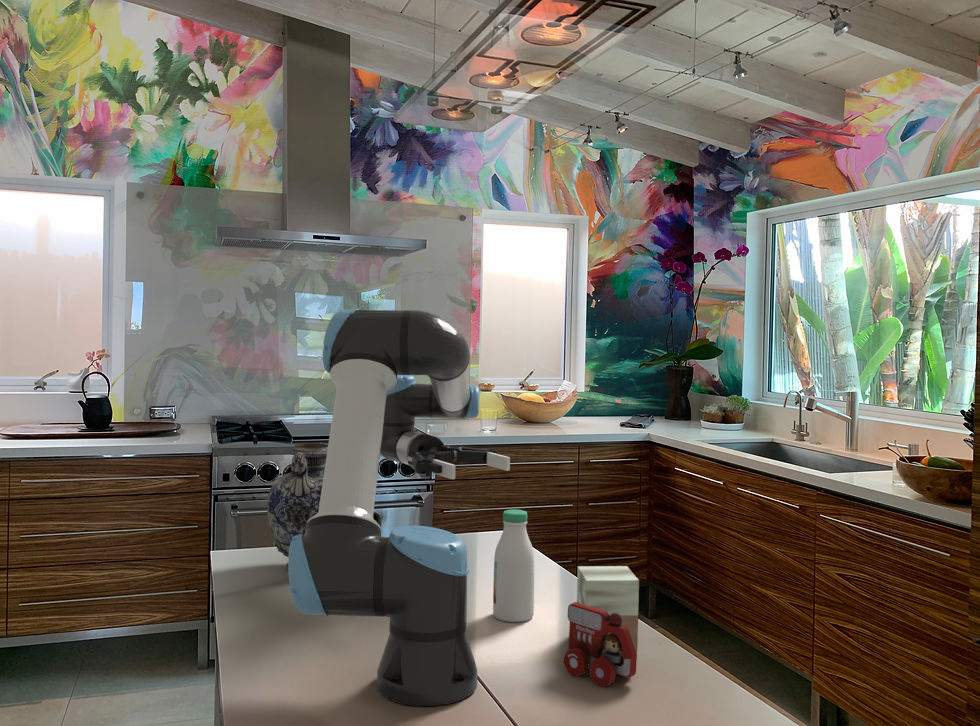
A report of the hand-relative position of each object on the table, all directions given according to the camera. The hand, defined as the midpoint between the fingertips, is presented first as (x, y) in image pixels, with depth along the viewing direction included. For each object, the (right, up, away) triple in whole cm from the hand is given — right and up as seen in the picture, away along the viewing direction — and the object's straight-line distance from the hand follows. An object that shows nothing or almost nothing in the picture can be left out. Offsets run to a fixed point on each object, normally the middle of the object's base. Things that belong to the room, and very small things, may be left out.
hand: (482, 468), depth 160 cm
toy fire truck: (+19, -29, -32) cm, 47 cm away
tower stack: (+22, -28, -18) cm, 40 cm away
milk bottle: (+6, -28, -6) cm, 29 cm away
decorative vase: (-39, -26, +23) cm, 52 cm away
